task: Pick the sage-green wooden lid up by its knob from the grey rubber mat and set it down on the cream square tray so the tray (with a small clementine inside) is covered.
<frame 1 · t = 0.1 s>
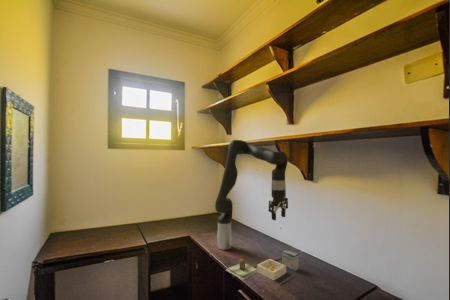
hand: (278, 218, 125), 29 cm above the counter, fingers open, 8 cm apart
medicine box: (290, 268, 130), on the counter
cream square tray: (271, 273, 124), on the counter
clementine: (271, 269, 124), point 2 cm above the counter, touching cream square tray
lid: (242, 270, 126), point 1 cm above the counter, touching mat
mat: (242, 271, 126), on the counter
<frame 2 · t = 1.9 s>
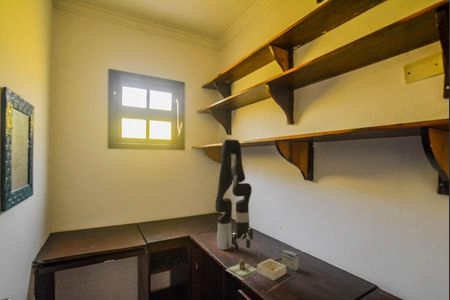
hand: (242, 249, 126), 12 cm above the counter, fingers open, 8 cm apart
nothing on the counter moved.
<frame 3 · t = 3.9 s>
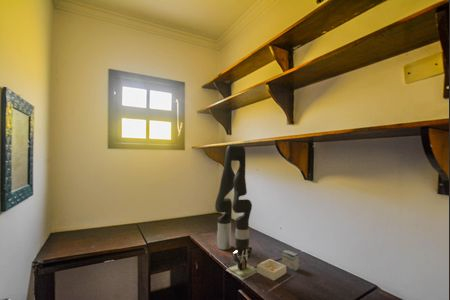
hand: (242, 267, 126), 2 cm above the counter, fingers closed on lid, 3 cm apart
lid: (242, 270, 126), point 1 cm above the counter, touching gripper, mat
everything else where it was.
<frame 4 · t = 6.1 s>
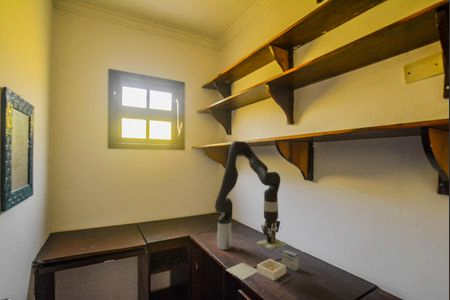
hand: (271, 241, 124), 17 cm above the counter, fingers closed on lid, 3 cm apart
lid: (271, 244, 124), point 16 cm above the counter, touching gripper
everything else where it was.
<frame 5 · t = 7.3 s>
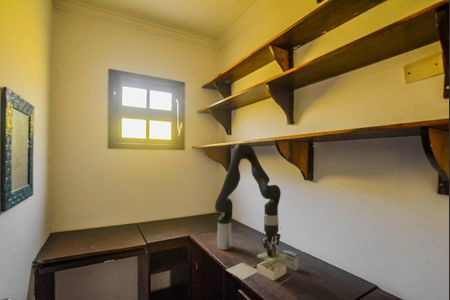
hand: (271, 254, 124), 10 cm above the counter, fingers closed on lid, 3 cm apart
lid: (271, 257, 124), point 9 cm above the counter, touching gripper
everything else where it was.
when the fingers open (7 cm above the counter, at t = 8.5 s): lid drops 2 cm, resting on cream square tray.
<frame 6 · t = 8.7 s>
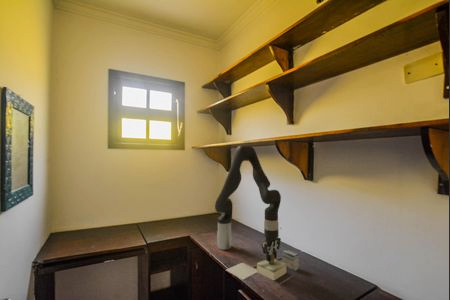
hand: (271, 259, 124), 8 cm above the counter, fingers open, 4 cm apart
lid: (271, 265, 124), point 4 cm above the counter, touching cream square tray
everything else where it was.
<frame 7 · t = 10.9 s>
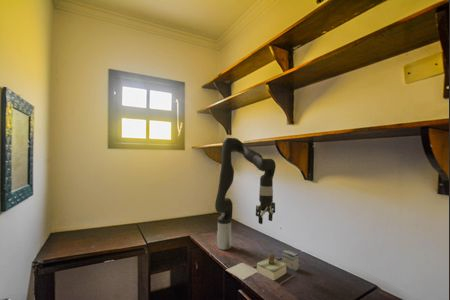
hand: (265, 222, 132), 25 cm above the counter, fingers open, 8 cm apart
nothing on the counter moved.
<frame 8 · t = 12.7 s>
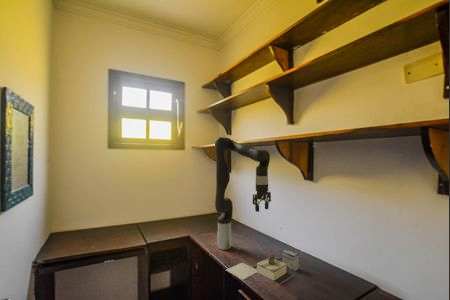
hand: (262, 210, 139), 30 cm above the counter, fingers open, 8 cm apart
nothing on the counter moved.
at the end: lid 0.0 cm off-centre on the cream square tray, point 4.5 cm above the cream square tray's base; lid tilted 0°; the gripper is holding nothing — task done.
